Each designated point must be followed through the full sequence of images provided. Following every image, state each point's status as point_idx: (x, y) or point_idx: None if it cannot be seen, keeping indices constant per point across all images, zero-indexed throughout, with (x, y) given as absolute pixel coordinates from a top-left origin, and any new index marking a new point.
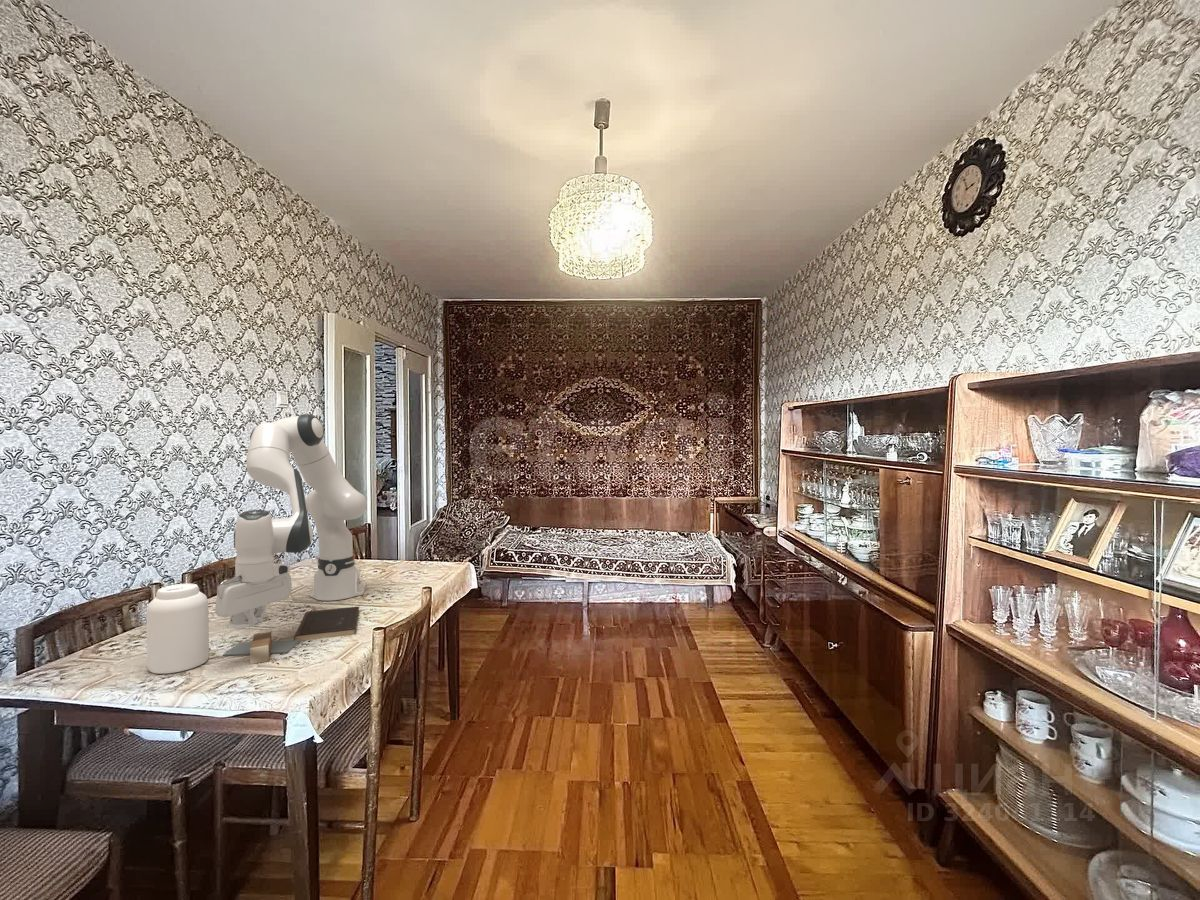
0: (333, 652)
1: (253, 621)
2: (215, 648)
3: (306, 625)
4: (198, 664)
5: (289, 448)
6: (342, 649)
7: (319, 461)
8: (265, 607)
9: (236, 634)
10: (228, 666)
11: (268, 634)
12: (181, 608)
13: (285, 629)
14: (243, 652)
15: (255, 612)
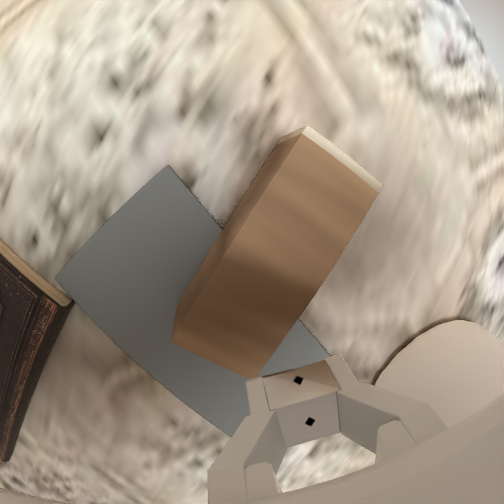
0: (64, 14)
1: (348, 370)
2: (303, 445)
3: (5, 372)
4: (434, 329)
5: None
6: (30, 24)
7: None
8: (227, 480)
9: (200, 493)
10: (395, 242)
11: (204, 314)
12: None
13: (69, 431)
14: (290, 336)
15: None
